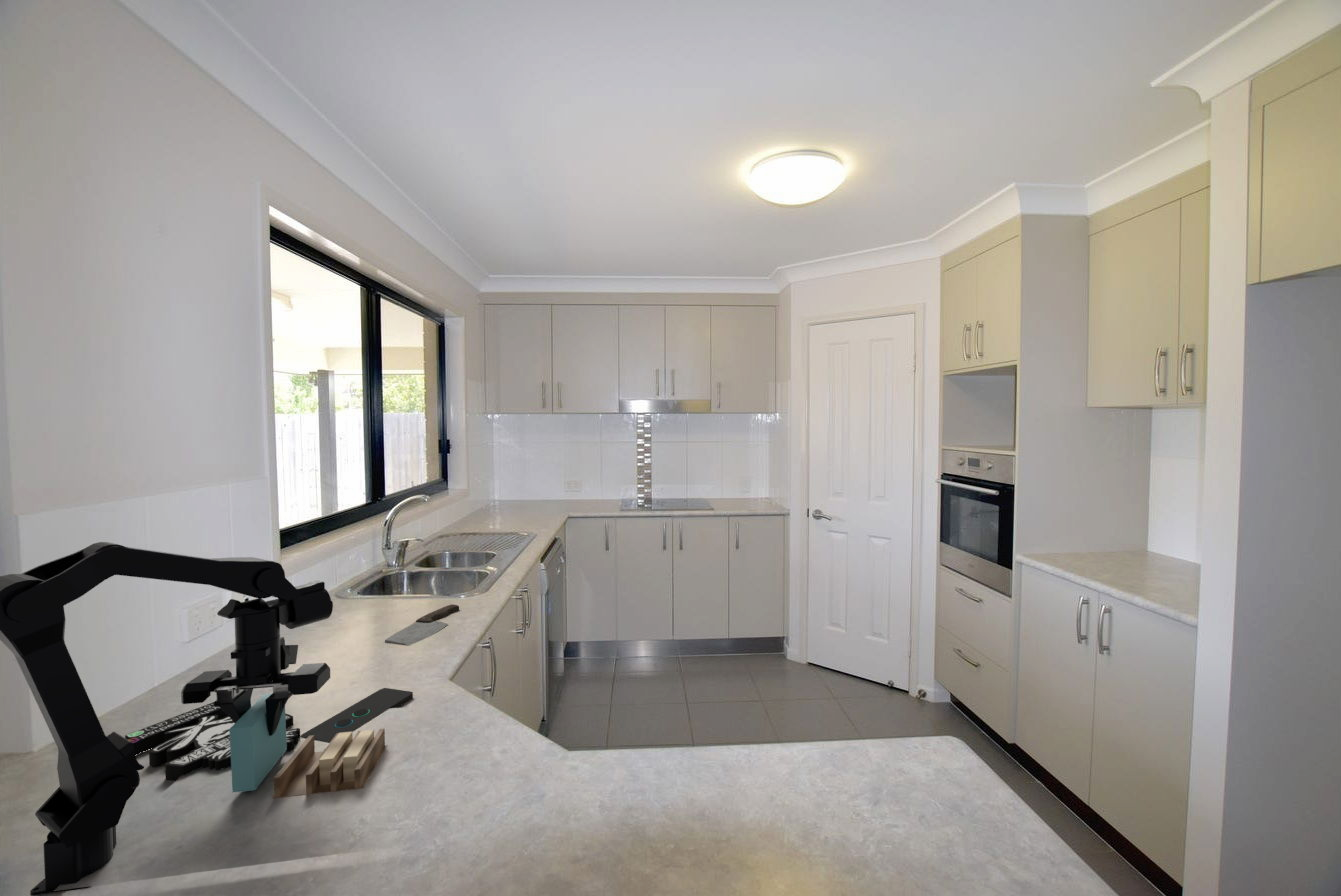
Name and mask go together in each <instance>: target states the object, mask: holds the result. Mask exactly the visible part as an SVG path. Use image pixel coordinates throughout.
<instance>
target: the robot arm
mask: <svg viewBox="0 0 1341 896" xmlns="http://www.w3.org/2000/svg"><path fill="white" fill-rule="evenodd" d="M113 576H123V577H124V576H125V577H133V578H142V579H150V580H151V579H153V580H161V581H169V582H178V583H189V584H198V585H205V586H206V585H207V586H211V587H215V588H218V589H222V590H226V591H229V592H233V593H237V594H239V595H244V596H248V597H252V598H255V599H250V600H246V601H240V600H237V599H233V598H230V599H229V601H228V602H227V604H225V605H224V606H222V608H221V609H220V610H218V612H217V613H216V614H217V616H218V617H222V618H226V619H229V620H232V619H234V638H235V639H234V642H235V643H234V645H235V648H234V650H232V651H231V652H230V659H231V660H235V673H236V675H235V676H232V675H233V673H232V672H231V671H230V669H223V670H222V669H221V670H207V671H203V672H202V673H201V674H199V675H197V676H196V677H194V678H193V679H191V680H190V681H188V682H186V684H185V685H184V686H183V687H182V689H181V692H180V695H181V700H180V701H181V704H182V705H189V704H201V703H204V702H205V701H207V700H208V698H209V697H211V696H212V695H211V693H215V698H216V700H215V701H213V702H214V703H213V706H214V707H220V708H221V709H222V710H223V711H224V712H225V713H226V714H227V715H228V716H229V717H230V718H231V719H232V720H233V722H234V723H236V722H237V721H238V720H239V719H240V718H241V717H242V716H243V715H244V714H245V713H246V712H247V711H248V710H249V709H250V708H251V707H252V702H251V699H252V695H253V691H254V689H264V688H272V693H270V694H271V695H270V696H269V697H268V698H267V699H266V700H265V701H266V714H267V727H268V732H269V735H270V736H272V735H273V734H274V733H275V732H276V729H277V726H278V723H279V721H280V718H281V715H282V712H283V709H284V707H285V708H286V704H287V702H288V700H289V699H290V698H291V697H292V696H299V695H300V696H301V695H310V694H315V693H317V692H319V690H320V689H321V688H323V686H324V685H325V684H326V683H327V682H328V681H329V680H330V679H331V667H330V666H329V664H327V663H326V662H317V663H304V664H302V665H300V667H299V668H298V669H296V670H295V671H294V672H293V671H292V672H283V673H282V671H286V670H287V669H288V668H289V667H290V665H296V664H297V657H298V651H299V644H286V640H285V637H284V636H281V625H282V626H285V627H286V628H287V629H289V630H293V629H296V628H300V627H304V626H307V625H311V624H313V623H317V622H321V621H324V620H327V619H329V618H330V617H331V616H332V613H333V609H334V602H333V601H332V598H331V595H330V593H329V591H328V590H327V589H326V585H325V583H326V582H324V581H321V580H313V581H310V582H308V583H305V584H300V585H298V586H297V585H296V586H294V585H293V583H291V581H289V579H287V577H286V573H285V570H284V568H283V566H282V564H281V563H279V562H276V561H274V560H267V559H264V558H258V557H248V556H246V557H245V556H244V557H243V556H239V557H235V556H234V557H219V558H208V557H200V556H193V555H187V554H182V553H181V554H179V553H173V552H166V551H160V550H159V551H157V550H151V549H144V548H138V547H130V546H124V545H122V544H118V543H113V542H108V541H99V542H95V543H92V544H90V545H88V546H86V547H85V548H83V549H80V550H78V551H76V552H74V553H71V554H68V555H66V556H62V557H60V558H57V559H54V560H52V561H49V562H45V563H43V564H40V565H38V566H34V567H33V568H31V569H28V570H26V571H24V572H22V573H9V574H5V575H4V574H3V575H0V641H1V643H3V644H4V645H5V646H6V647H7V649H8V650H10V652H11V653H12V654H13V655H14V657H15V659H16V661H17V664H18V666H19V668H20V671H21V672H22V674H23V677H24V679H25V680H26V683H27V685H28V687H29V690H30V691H31V694H32V696H33V697H34V700H35V702H36V704H37V706H38V709H39V711H40V713H41V715H42V718H43V719H44V721H45V723H46V725H47V728H48V730H49V732H50V734H51V736H52V738H53V741H54V743H55V746H57V751H58V754H57V756H58V757H57V767H56V770H57V778H58V783H59V787H57V788H56V790H55V791H54V792H53V793H51V795H50V797H48V798H47V800H46V801H45V802H44V803H43V804H42V805H41V806H39V808H38V809H37V810H36V811H35V816H36V818H37V819H38V821H39V822H40V824H41V825H42V826H43V827H45V828H47V829H48V830H49V832H48V834H47V836H46V841H45V842H44V843H43V861H44V862H43V866H44V878H43V879H42V880H41V881H40V882H39V883H37V884H36V885H35V886H34V887H33V888H32V889H31V890H30V891H29V892H30V893H29V894H30V896H39V895H47V894H55V893H62V892H70V891H78V890H79V891H80V890H84V889H86V890H87V889H89V888H92V887H93V885H89V886H81V887H80V886H79V887H74V888H73V887H72V888H67V889H59V890H57V889H58V888H59V887H60V886H63V885H64V886H66V885H71V884H76V883H78V882H79V881H81V880H82V879H83V878H85V877H87V876H90V875H91V874H93V873H95V872H97V871H98V870H100V869H101V868H104V866H106V865H107V864H108V863H109V862H110V861H111V860H112V859H113V857H114V849H115V848H116V845H117V827H116V826H118V824H119V822H120V819H121V816H122V815H123V811H124V809H125V807H126V804H127V801H128V800H129V799H130V798H131V797H132V796H133V795H134V792H135V791H136V789H137V788H138V787H139V786H140V781H141V778H140V773H139V771H143V770H145V769H144V768H145V766H144V765H142V764H141V763H140V762H139V761H138V760H137V756H135V749H134V746H133V743H132V742H130V741H129V740H127V739H126V738H125V736H123V735H121V734H119V733H117V732H116V731H112V732H111V733H109V734H108V735H106V734H105V731H104V729H103V727H102V724H101V723H100V722H101V721H100V720H99V718H98V715H97V714H96V711H95V709H94V707H93V704H92V702H91V699H90V698H89V695H88V693H87V691H86V688H85V686H84V684H83V681H82V679H81V677H80V675H79V672H78V670H77V668H76V665H75V663H74V662H73V659H72V657H71V655H70V651H69V649H68V647H67V645H66V643H65V642H66V641H65V633H66V632H65V631H66V630H65V629H66V613H65V606H66V605H67V604H70V603H71V602H73V601H75V600H78V599H79V598H81V597H83V596H84V595H86V594H87V593H88V592H89V591H91V590H93V589H94V588H95V587H97V586H99V585H100V584H101V583H102V582H105V581H106V580H108V579H111V578H112V577H113ZM271 597H272V598H273V597H274V598H275V599H271V600H265V599H267V598H268V599H269V598H271Z"/></svg>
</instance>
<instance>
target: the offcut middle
mask: <svg viewBox="0 0 1341 896" xmlns="http://www.w3.org/2000/svg"><path fill="white" fill-rule="evenodd" d="M352 740H353V732H342V733H339V734H338V735H337V737H336V738H335V739H334V741H333V742H332V743H331V745H330V746H329V747H328V749H327V750H326V751H325V753H324V754H323V755H322V757H321V758H320V759H319V773H320V785H326V784H331V783H330V772H331V770H332V769H333V767H334V766H335V765H336V763H337V762H338V760H339V759H340V757H341V756H342V754H343V753H344V751H345V750H346V749H347V747H348V746H349V744H350V743H351V741H352Z"/></svg>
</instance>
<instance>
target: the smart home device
mask: <svg viewBox="0 0 1341 896" xmlns="http://www.w3.org/2000/svg"><path fill="white" fill-rule="evenodd" d="M413 693H414V692H413V691H409V690H403V689H395V688H388V687H382V688H380V689H378V690H377V691H374V692H373V693H371V694H369V695H368V696H366V697H365V698H363V699H360V700H358V701H357V702H356V703H354V704H352V705H351V706H349V707H347V708H345V709H343V710H342V711H340V712H339V713H337V714H335V715H333V716H331V717H330V718H328V719H326V720H324V721H323V722H320V723H319V724H318V725H316V726H314V727H312V728H311V729H309V730H307V731H305V732H304V733H302V734H300V738H303V739H307V738H308V736H311V735H314V741H318V742H323V743H328V744H329V743H330V742H331V741H332V739H333V738H334V737H335V735H336V734H337V733H342V732H352V733H353V732H354V731H356V730H358V729H359V728H361V727H362V726H364V725H366V724H367V723H369V722H370V721H371V720H374V719H375V718H376V717H378V716H379V715H381V714H383V713H384V712H386V711H388V710H389V709H399V708H400V707H401V706H403V705H405V704H407V703H408V702H409V701H411V700H412V699H413V698H414V695H413Z"/></svg>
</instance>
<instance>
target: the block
mask: <svg viewBox="0 0 1341 896" xmlns="http://www.w3.org/2000/svg"><path fill="white" fill-rule="evenodd" d="M271 694H272V693H264V694H263V695H262V696H261V697H260V698H259V699H258V700H257V701H256V702H254V704H252V705H251V708H250V709H249V710H248V711H247V712H246V713H245V714H244V715H243V716H242V717H241V718H240V719H239V720H238V721H237V722H236V723H235V724H234V725H233V726H232V727H231V728H230V729H229V732H230V751H231V766H230V767H231V769H230V770H231V785H232V786H231V787H232V790H231V791H232V793H241V792H250V791H252V792H253V791H256V790H257V788H258V787H259V786H260V785H261V783H262V782H263V780H264V779H265V778H266V777H267V775H268V774H269V773H270V772H271V771H272V769H273V768H274V767H275V765H276V764H277V763H278V762H279V761H280V760H281V759H282V758H281V756H282V755H283V756H284V754H285V753H286V752H285V751H286V750H287V741H286V730H287V729H286V717H285V713H286V706H285V707H284V709H283V712H282V715H281V718H280V721H279V723H278V726H277V729H276V732H275V733H274V734H273V735H272V736H270V735H269V732H268V727H267V714H266V701H265V700H266V699H267V698H268V697H269V696H270V695H271ZM280 758H281V759H280Z"/></svg>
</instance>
